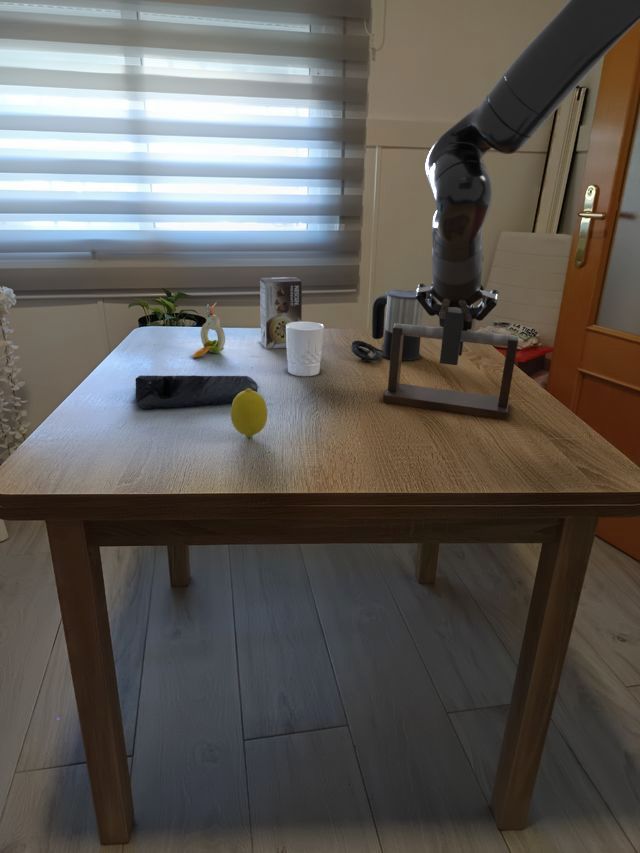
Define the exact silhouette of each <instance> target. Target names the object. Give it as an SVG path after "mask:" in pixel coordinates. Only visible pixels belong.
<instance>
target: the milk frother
mask: <svg viewBox="0 0 640 853" xmlns="http://www.w3.org/2000/svg"><path fill="white" fill-rule="evenodd" d="M416 294H417V290H416V291H415V290H405V289H394V290H388V291H386V294H384V295H379V296H378V297H376V298H375V300H374V301H373V304H372V319H371V327H372V328H371V337H372V339H374V340H381V339H383V343H382V346H381V349H382V350H381V349H379V348H377V347H375V346H373V345H372V344H370V343H369V342H368V343H367V342H365V341H362V340H354V341H352V342H351V344H350V350H351V352H352V354H354V356H356V357H358V358H360V359H361V361H370V362H374V361H377V360H380V354H381V356H382V357H384V358H386V359H390V356H391V344H392V332H393V327H394V324H395V323H398V324H407V325H417V326H423V321H424V314H425V313H424V312H425V309H424V308H423V307H422V305H421V304H420V303H419V301H418V300H417V299H416ZM421 338H422V337H414V336H405V335H404V339H403V350H402V361H416V360H418V359H420V358H421V354H420V348H421ZM370 353H373V355H372V354H370Z"/></svg>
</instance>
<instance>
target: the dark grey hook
mask: <svg viewBox="0 0 640 853" xmlns="http://www.w3.org/2000/svg"><path fill="white" fill-rule="evenodd" d="M463 327H464V314H463V313H462V311H461V308H457V307H449V308H448V312H445V321H444V330H443V338H442V340H441V345H440V346H441V348H440V356H439V364H441V365H451V366H458V364H459V357H461V356H462V355H463V350H464V349H463V348H464V342H461V334H462V330H463Z"/></svg>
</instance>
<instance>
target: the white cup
mask: <svg viewBox="0 0 640 853" xmlns="http://www.w3.org/2000/svg"><path fill="white" fill-rule="evenodd" d="M324 331H325V325H324V324H323V323H319V322H315V321H305V320H304V321H303V320H302V321H300V322H291V323H288V324H286V347H287V348H286V359H287V372H288V373H289V374H291V375H292V376H296V377H312V376H317V375H319V374H320V369H321V360H322V353H323V342H324Z"/></svg>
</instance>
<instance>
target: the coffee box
mask: <svg viewBox="0 0 640 853" xmlns="http://www.w3.org/2000/svg"><path fill="white" fill-rule="evenodd" d="M259 298H260V300H259V301H260V305H259V306H260V343H261V345H262V346H263V347H264V348H265V349H266V350H270V349H283V348H286V349H287V347H286V324H288V323H291V322H300V321H303V320H302V314H303V312H302V311H303V304H302V303H303V281H302V280H301V279H299V278H298V277H296V276H282V277H281V276H279V277H278V276H277V277H275V276H274V277H271V276H270V277H260V278H259Z"/></svg>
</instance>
